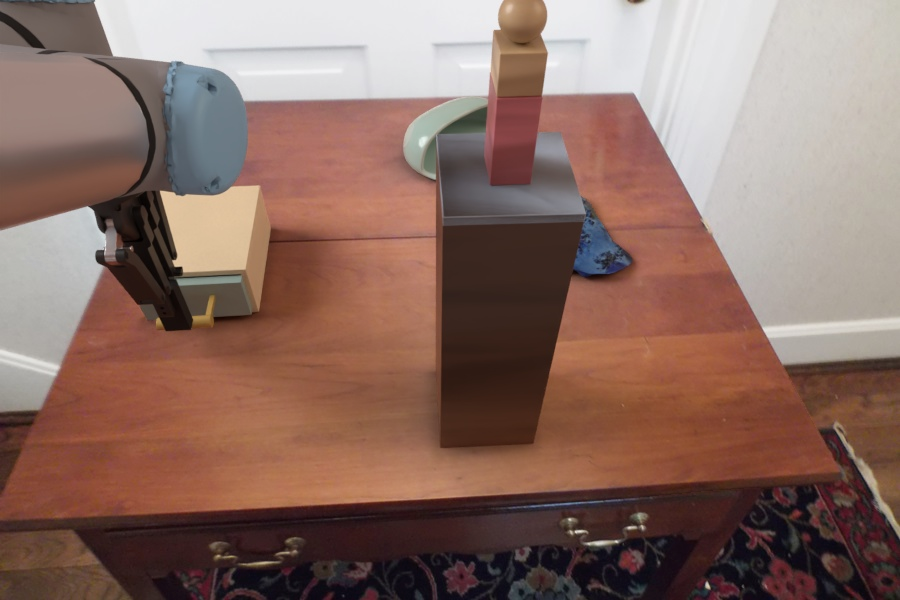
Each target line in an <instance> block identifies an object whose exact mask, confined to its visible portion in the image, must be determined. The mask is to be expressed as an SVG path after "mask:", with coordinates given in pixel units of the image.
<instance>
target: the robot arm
mask: <svg viewBox="0 0 900 600" xmlns="http://www.w3.org/2000/svg"><path fill="white" fill-rule="evenodd" d="M95 2H96V0H0V232H1V231H4V230H8V229H11V228H16V227H19V226H23V225H26V224H29V223H33V222H37V221H41V220H44V219H48V218H51V217H55V216H58V215H61V214H65V213H69V212H73V211H77V210H80V209H83V208H87V207H88V208H89V209H91V210H92V211H93V214H94V217H95V221H96V226H97V228H98V230H99V231H100V232H101V233H102V234H104V237H105V239H104V241H105V242H104V246H103V248H102V249H96V250H95V253H94V258H95V261H96V263H97V264H98V265H101V266H102V267H105V268H107V269H108V270H109V272H110V273H111V274H112V276H114V278H115V279H116V280H117V281H118V282H119V284H120V286H121V287H123V289H124V290H125V291H126V293H127V294H128V296H130V297H131V299H132V300H133V301H134V302H135V304H136V305H138V306H139V305H148V304H153V306H154V308H155V310H156V312H157V314H158V316H159V318H160V320H161V323H162V325H163V327H164V329H165V330H164V331H165V332H177V331H178V332H179V331H180V332H181V331H192V329H193V328H192V323H193V318H192V315H191V313H190V311H189V308H188V306H187V304H186V301H185V299H184V297H183V294H182V292H181V290H180V287H179V285H178V282H177V280H176V279H175V278H174V277H178V276H182V275H183V267H175V266H174V264H173V261H172V260H176V259H177V251H176V248H175V244H174V241H173V237H172V233H171V230H170V226H169V223H168V219H167V215H166V212H165V208H164V205H163V201H162V197H161V194H160V191H167V192H173V193H175V194H176V195H180V196H185V195H186V194H188V195H209V196H213V195H218V194H221V193H223V192H225V191H227V190H228V189H229V188H230V187H232V186H234V184H235V183H236V181H237V180H238V178H239V176H240V175H241V173H242V171H243V168H244V165H245V161H246V157H247V152H248V145H249V143H248V142H249V122H248V113H247V108H246V104H245V101H244V98H243V95H242V93H241V91H240V89H239V86H237V84H236V83H235V81H234V80H232V78H231V77H230V76H229V75H228V74H226V73H225V72H224V71H221V70H220V69H216V68H212V67H206V66H200V65H193V64H187V63H185V62H184V61H180V60H171V61H162V60H155V59H154V60H153V59H144V58H136V57H135V58H134V57H126V56H125V57H124V56H117V55H116V56H115V55H114V53H113V51H112V48H111V46H110V43H109V40H108V37H107V35H106V32H105V29H104V26H103V23H102V21H101V18H100V15H99V12H98V10H97V6H96V4H95Z"/></svg>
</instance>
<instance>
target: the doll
mask: <svg viewBox="0 0 900 600" xmlns="http://www.w3.org/2000/svg"><path fill="white" fill-rule="evenodd" d="M547 21H548V9H547V6H546V3H545V1H544V0H502V3H501V4H500V6H499V8H498V14H497V23H498V27H499V29H493V30H492V43H491V44H492V45H491V59H490V72H489V79H488V81H489V82H488V95H487V96H488V97H487V99H488V109H487V123H486V138H485V153H484V158H485V163H486V168H487V173H488V178H489V183H490V185H514V184H530V183H531V177H532V170H533V163H534V156H535V148H536V141H537V134H538V132H539V127H540V126H539V125H540V119H541V112H542V103H543V92H544V85H545V79H546V70H547V63H548V56H549V52H548V50H547V46H546V44H545V41H544V39H543V37H542V33H543V31H544V30H545V28H546V25H547Z"/></svg>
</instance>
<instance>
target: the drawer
mask: <svg viewBox="0 0 900 600" xmlns="http://www.w3.org/2000/svg"><path fill="white" fill-rule="evenodd" d="M174 278H175V279H176V280H177V282H178V285H179V287H180V290H181V292H182V294H183V297H184V299H185V301H186V304H187V306H188V308H189V311H190V313H191V315H192V318H193V323H192V328H191V329H203V328H204V329H207V328H213V327H214V325H215V319H214V318H217V317H218V318H219V317H237V316H238V317H239V316H252V314H253V312H252V305H251V301H250V298H249V295H248V292H247V289H246V286H245V283H244V280H243V276H242V275H241V274H233V275H213V276H193V277H174ZM138 306H139V308H140V309H141V311H142V313H143V315H144V317H145V320H146V321H155V328H156V330H157V331H165V329H164V327H163V325H162V323H161V320H160V318H159V316H158V314H157V312H156V310H155V308H154V306H153V304H148V305H138Z"/></svg>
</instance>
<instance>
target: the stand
mask: <svg viewBox="0 0 900 600" xmlns="http://www.w3.org/2000/svg"><path fill="white" fill-rule="evenodd" d="M485 138H486V133H481V134H436V180H435V382H436V400H437V402H436V403H437V416H438V417H437V418H438V435H439V448H440V449H441V448H463V447H481V446H482V447H484V446H485V447H486V446H487V447H488V446H503V445H504V446H505V445H526V444H528V445H529V444H534V443H535V440H536V439H535V438H536V434H537V429H538V426H539V422H540V417H541V413H542V408H543V404H544V399H545V395H546V390H547V386H548V383H549V382H548V381H549V378H550V372H551V368H552V364H553V360H554V355H555V351H556V346H557V342H558V337H559V334H560V330H561V325H562V322H563V321H562V320H563V317H564V312H565V306H566V303H567V299H568V294H569V290H570V285H571V281H572V277H573V272H574V270H573V268H574V264H575V259H576V255H577V250H578V246H579V242H580V237H581V233H582V229H583V224H584V220H585V216H586V212H585V209H584V206H583V202H582V199H581V196H582V195H581V192H580V190H579V185H578V183H577V179H576V177H575V173H574V170H573V167H572V163H571V161H570V157H569V154H568V151H567V147H566V144H565V141H564V138H563V135H562V132H561V131H541V132H540V131H538V134H537V141H536V148H535V156H534V163H533V170H532V177H531V183H530V184H514V185H490V183H489V178H488V173H487V168H486V163H485V158H484V153H485Z"/></svg>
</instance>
